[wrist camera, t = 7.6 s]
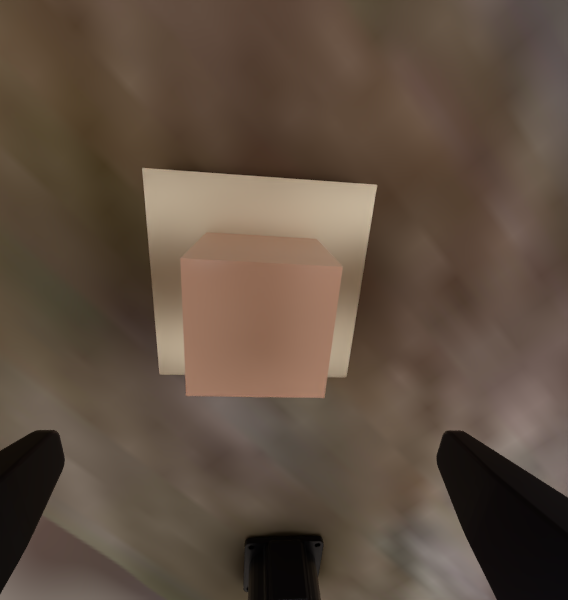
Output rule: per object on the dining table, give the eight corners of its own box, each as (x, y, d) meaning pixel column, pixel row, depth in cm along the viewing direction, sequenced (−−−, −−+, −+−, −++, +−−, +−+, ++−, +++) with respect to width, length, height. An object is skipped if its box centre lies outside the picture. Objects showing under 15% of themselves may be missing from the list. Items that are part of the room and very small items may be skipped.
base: (334, 349, 20) (346, 377, 18) (173, 346, 19) (159, 374, 17) (357, 183, 17) (377, 184, 14) (162, 169, 16) (142, 168, 13)
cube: (306, 335, 16) (324, 397, 12) (207, 332, 16) (186, 395, 11) (316, 238, 15) (343, 266, 10) (206, 232, 14) (180, 258, 10)
